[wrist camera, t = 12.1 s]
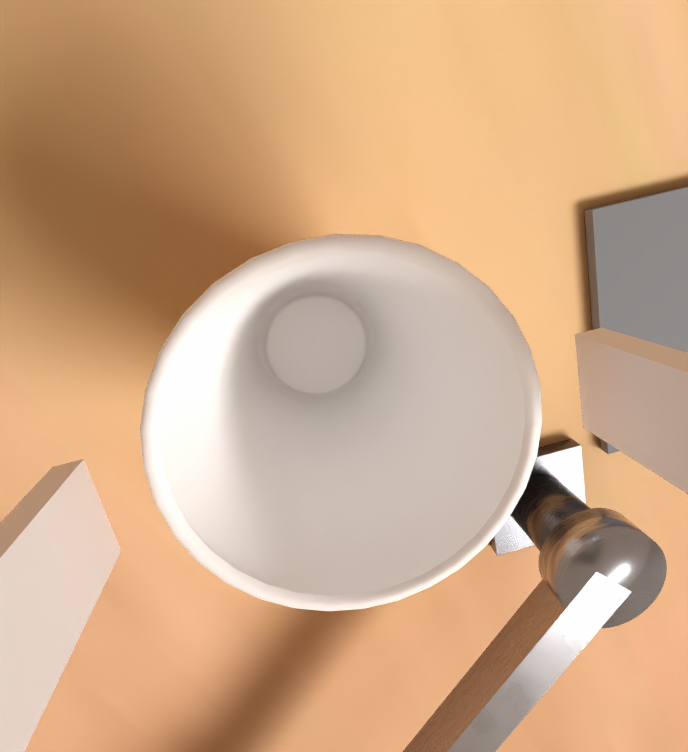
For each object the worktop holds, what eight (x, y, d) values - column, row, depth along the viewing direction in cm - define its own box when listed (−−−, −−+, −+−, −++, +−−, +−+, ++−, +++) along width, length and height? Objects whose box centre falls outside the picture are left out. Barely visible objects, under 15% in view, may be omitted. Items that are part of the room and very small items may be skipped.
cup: (443, 410, 25) (568, 548, 14) (244, 471, 24) (222, 660, 14) (396, 201, 22) (510, 179, 11) (167, 266, 21) (64, 307, 11)
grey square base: (478, 464, 26) (522, 515, 21) (572, 438, 26) (635, 484, 21) (490, 546, 27) (534, 611, 23) (579, 521, 28) (639, 580, 23)
